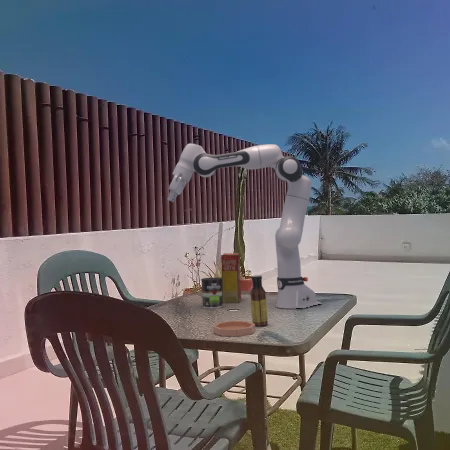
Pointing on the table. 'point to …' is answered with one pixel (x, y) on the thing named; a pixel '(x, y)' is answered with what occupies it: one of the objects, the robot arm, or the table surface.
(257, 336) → the table surface
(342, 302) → the table surface
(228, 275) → the food packaging
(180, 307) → the table surface
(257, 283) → the sauce bottle
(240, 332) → the terracotta saucer
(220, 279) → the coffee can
